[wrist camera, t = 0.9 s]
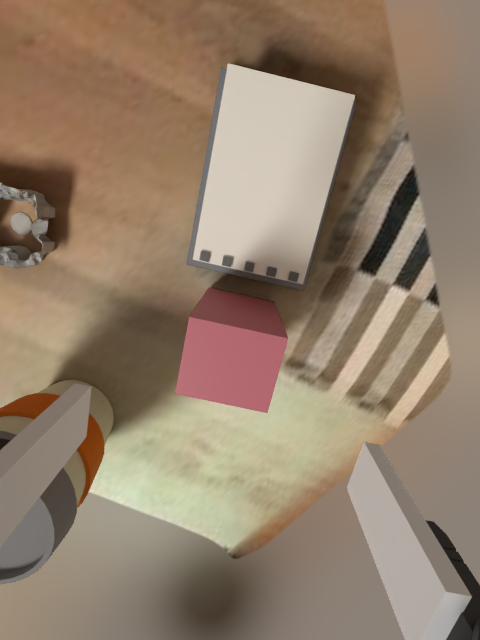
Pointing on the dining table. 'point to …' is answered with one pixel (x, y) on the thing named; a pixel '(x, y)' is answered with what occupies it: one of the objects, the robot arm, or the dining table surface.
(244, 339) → the pink block
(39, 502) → the reusable coffee cup
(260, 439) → the dining table surface
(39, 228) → the egg carton
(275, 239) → the white notepad
